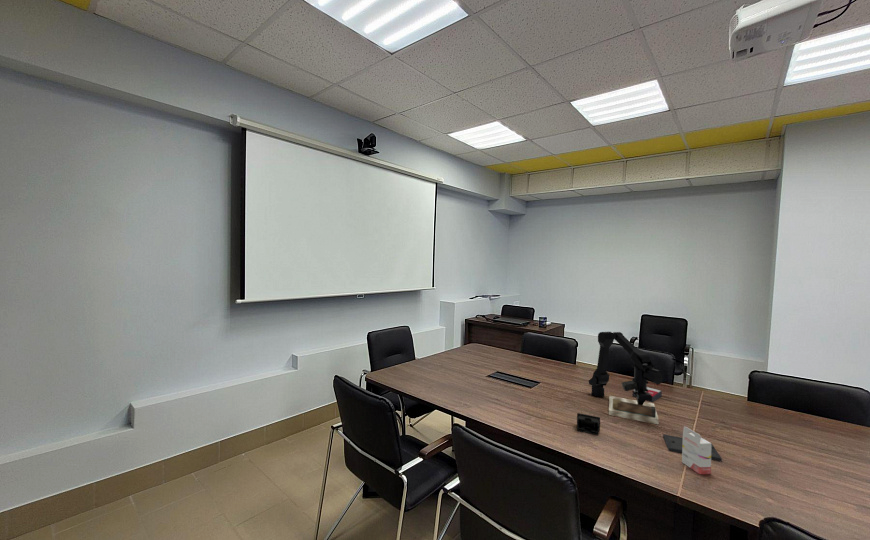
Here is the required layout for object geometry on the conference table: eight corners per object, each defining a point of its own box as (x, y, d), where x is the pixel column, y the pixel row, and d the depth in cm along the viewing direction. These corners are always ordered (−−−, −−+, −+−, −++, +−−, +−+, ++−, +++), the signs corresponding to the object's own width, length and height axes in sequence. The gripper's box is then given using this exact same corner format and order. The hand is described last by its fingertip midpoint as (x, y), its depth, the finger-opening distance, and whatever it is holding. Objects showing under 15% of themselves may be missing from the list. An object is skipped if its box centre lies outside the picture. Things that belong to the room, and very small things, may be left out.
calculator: (632, 391, 206) (642, 384, 215) (632, 398, 206) (642, 391, 215) (652, 396, 197) (662, 389, 207) (652, 404, 197) (661, 396, 207)
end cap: (599, 429, 163) (600, 415, 163) (599, 435, 156) (600, 421, 156) (577, 424, 167) (577, 411, 167) (576, 430, 161) (576, 416, 161)
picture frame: (711, 447, 149) (662, 438, 156) (711, 442, 149) (663, 433, 156) (721, 463, 137) (668, 452, 144) (721, 457, 137) (668, 447, 144)
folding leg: (612, 409, 180) (612, 400, 180) (612, 406, 183) (612, 397, 183) (655, 417, 171) (655, 407, 171) (654, 414, 174) (654, 405, 174)
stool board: (608, 414, 179) (608, 409, 179) (609, 400, 199) (609, 395, 199) (658, 424, 169) (658, 419, 169) (653, 408, 189) (653, 403, 189)
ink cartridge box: (711, 474, 128) (713, 435, 128) (699, 475, 128) (700, 435, 127) (692, 461, 136) (693, 425, 136) (681, 461, 136) (682, 425, 136)
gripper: (618, 370, 189) (618, 398, 190) (628, 382, 171) (627, 412, 172) (641, 372, 186) (640, 400, 187) (653, 384, 168) (652, 415, 169)
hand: (639, 407), depth 178 cm, fingers closed
